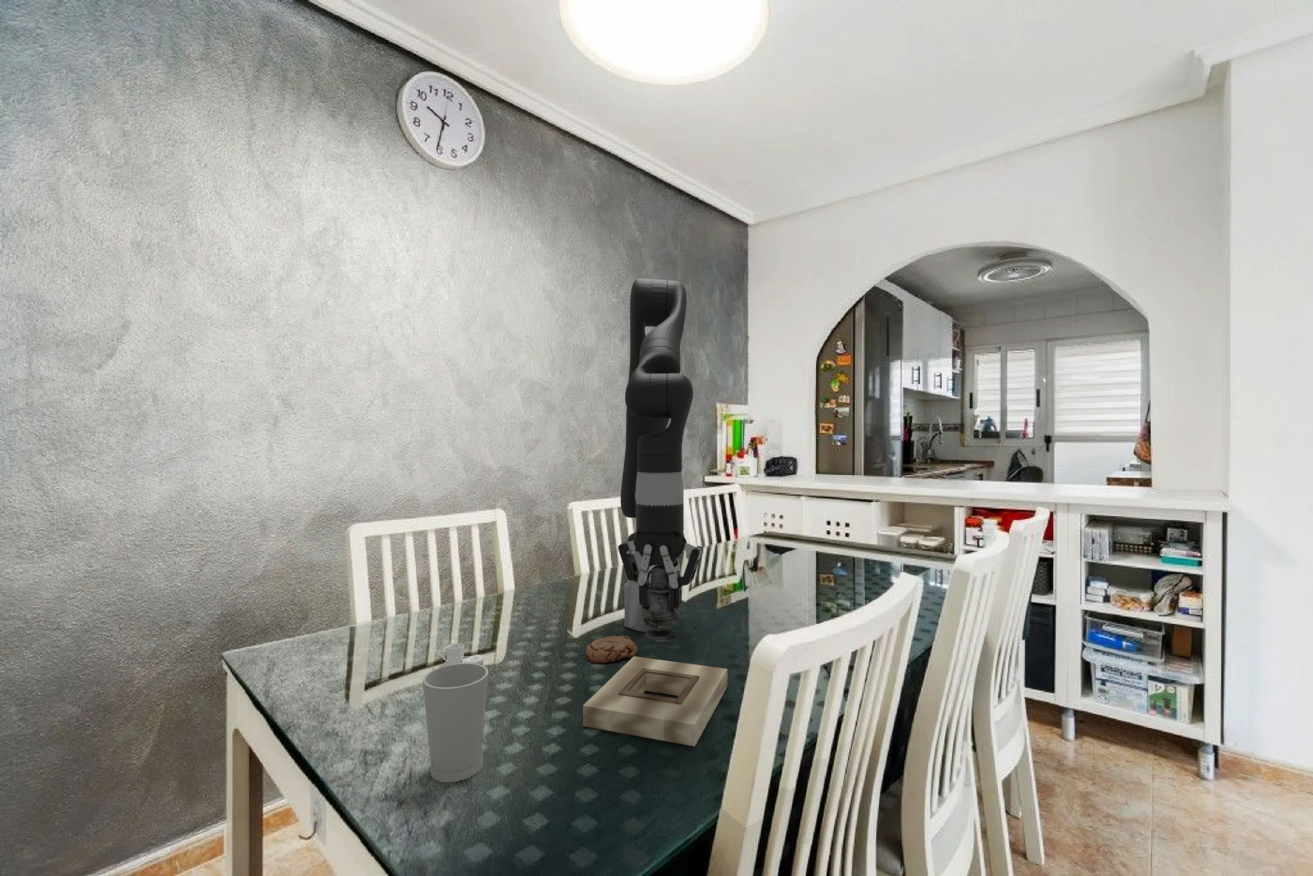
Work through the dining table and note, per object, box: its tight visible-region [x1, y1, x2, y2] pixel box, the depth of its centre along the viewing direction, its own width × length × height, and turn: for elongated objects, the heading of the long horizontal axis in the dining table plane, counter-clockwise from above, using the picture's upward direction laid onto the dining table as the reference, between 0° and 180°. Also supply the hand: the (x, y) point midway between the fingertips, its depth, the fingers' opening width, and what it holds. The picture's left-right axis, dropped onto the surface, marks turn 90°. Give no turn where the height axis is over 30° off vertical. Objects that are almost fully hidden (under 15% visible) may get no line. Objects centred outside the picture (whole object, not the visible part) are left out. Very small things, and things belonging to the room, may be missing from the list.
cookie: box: [585, 635, 639, 664], centre depth 114 cm, size 10×11×3 cm
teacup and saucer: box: [440, 642, 485, 665], centre depth 109 cm, size 9×8×4 cm
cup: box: [422, 662, 489, 783], centre depth 76 cm, size 8×8×12 cm
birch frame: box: [582, 655, 728, 747], centre depth 93 cm, size 17×20×3 cm
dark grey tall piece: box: [641, 565, 679, 643], centre depth 93 cm, size 6×6×12 cm
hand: (660, 608), depth 93 cm, fingers closed on dark grey tall piece, 4 cm apart
